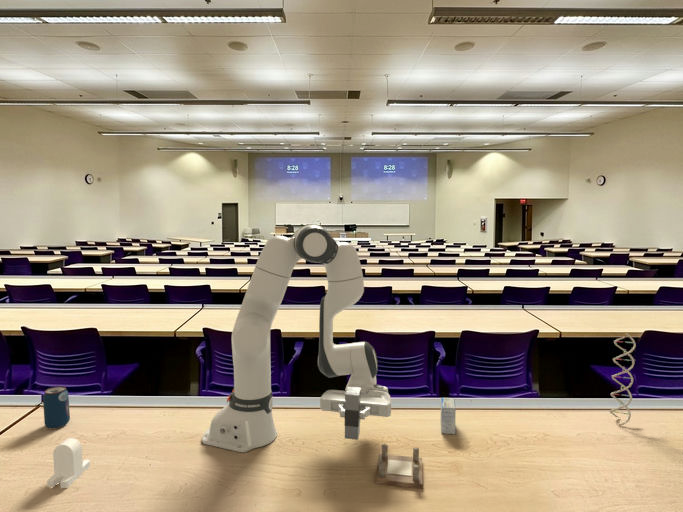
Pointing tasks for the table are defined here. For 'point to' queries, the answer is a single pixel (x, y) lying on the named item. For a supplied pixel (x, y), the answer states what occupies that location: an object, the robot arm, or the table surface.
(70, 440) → the cable organizer
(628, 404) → the dna model
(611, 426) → the table surface
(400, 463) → the peg cradle
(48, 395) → the soda can
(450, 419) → the medicine box
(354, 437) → the grey rectangular block
